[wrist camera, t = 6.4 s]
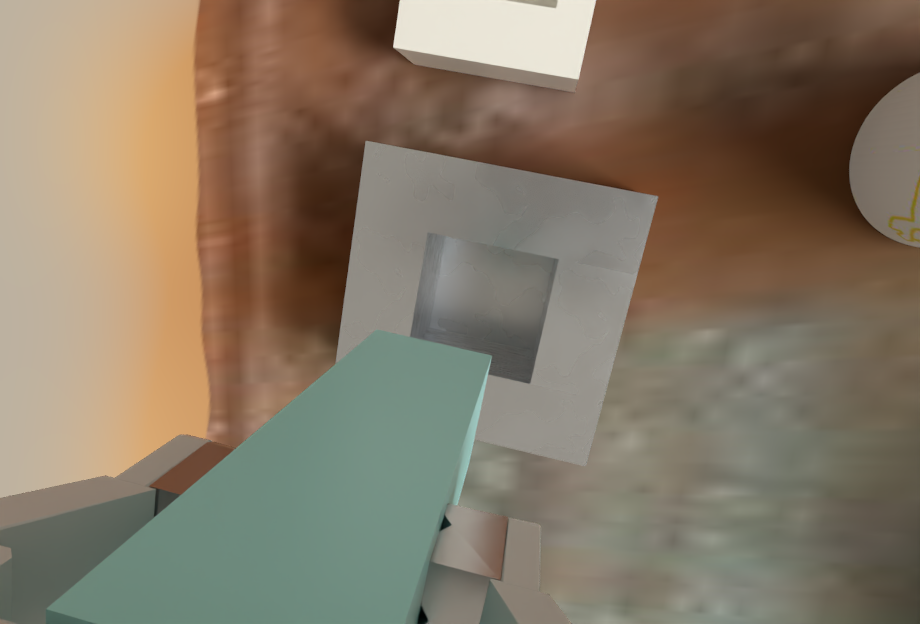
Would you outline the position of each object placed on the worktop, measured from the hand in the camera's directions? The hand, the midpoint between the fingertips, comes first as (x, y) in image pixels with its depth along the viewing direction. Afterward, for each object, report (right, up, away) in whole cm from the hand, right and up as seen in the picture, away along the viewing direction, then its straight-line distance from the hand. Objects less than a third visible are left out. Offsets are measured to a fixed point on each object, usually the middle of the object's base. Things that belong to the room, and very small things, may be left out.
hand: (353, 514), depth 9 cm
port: (+3, +5, +21) cm, 22 cm away
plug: (+1, +1, +5) cm, 6 cm away
